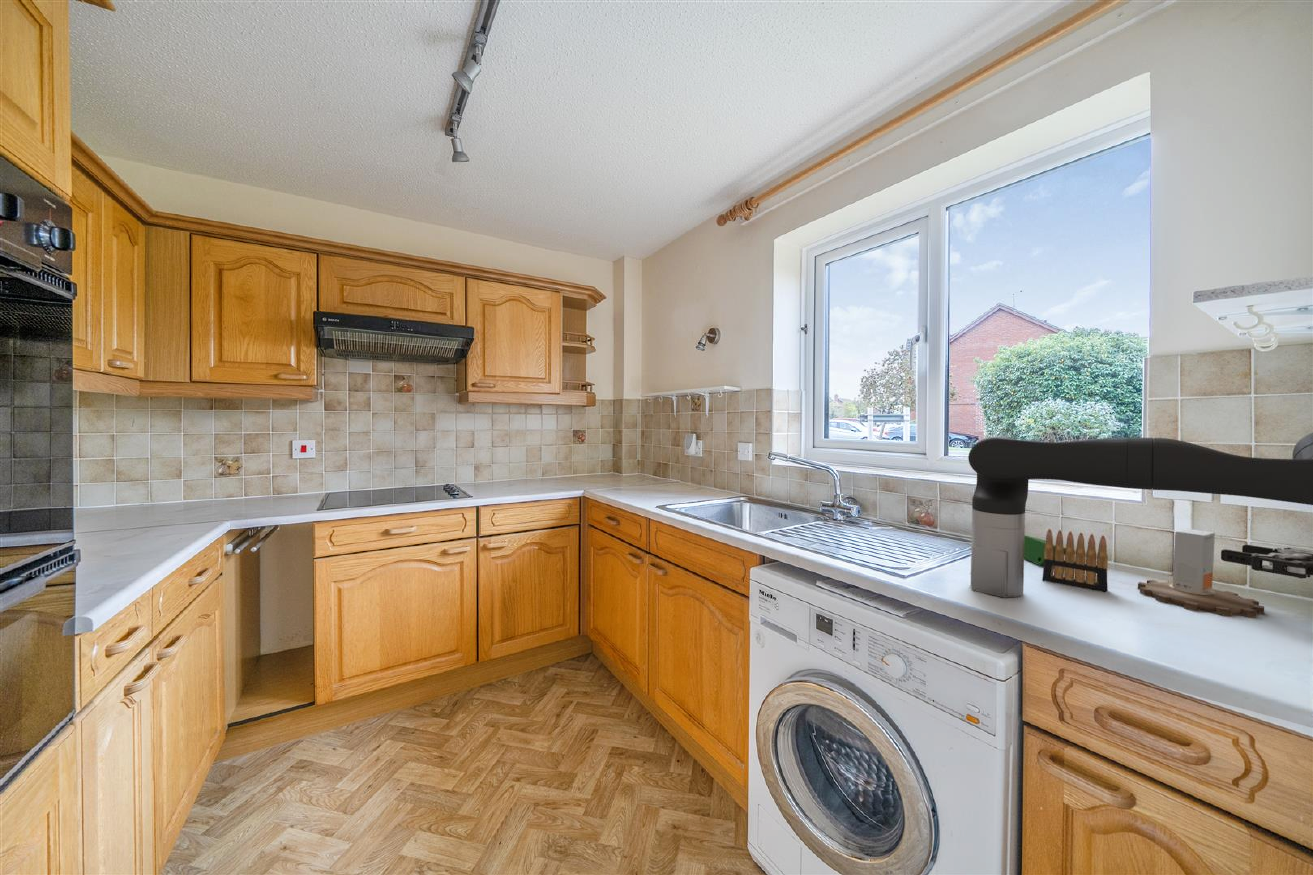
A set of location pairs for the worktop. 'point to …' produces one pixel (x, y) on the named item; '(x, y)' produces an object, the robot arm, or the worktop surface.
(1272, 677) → the worktop surface
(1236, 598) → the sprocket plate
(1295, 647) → the worktop surface
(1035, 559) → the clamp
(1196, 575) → the skincare box
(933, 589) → the worktop surface
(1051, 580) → the ammunition clip
